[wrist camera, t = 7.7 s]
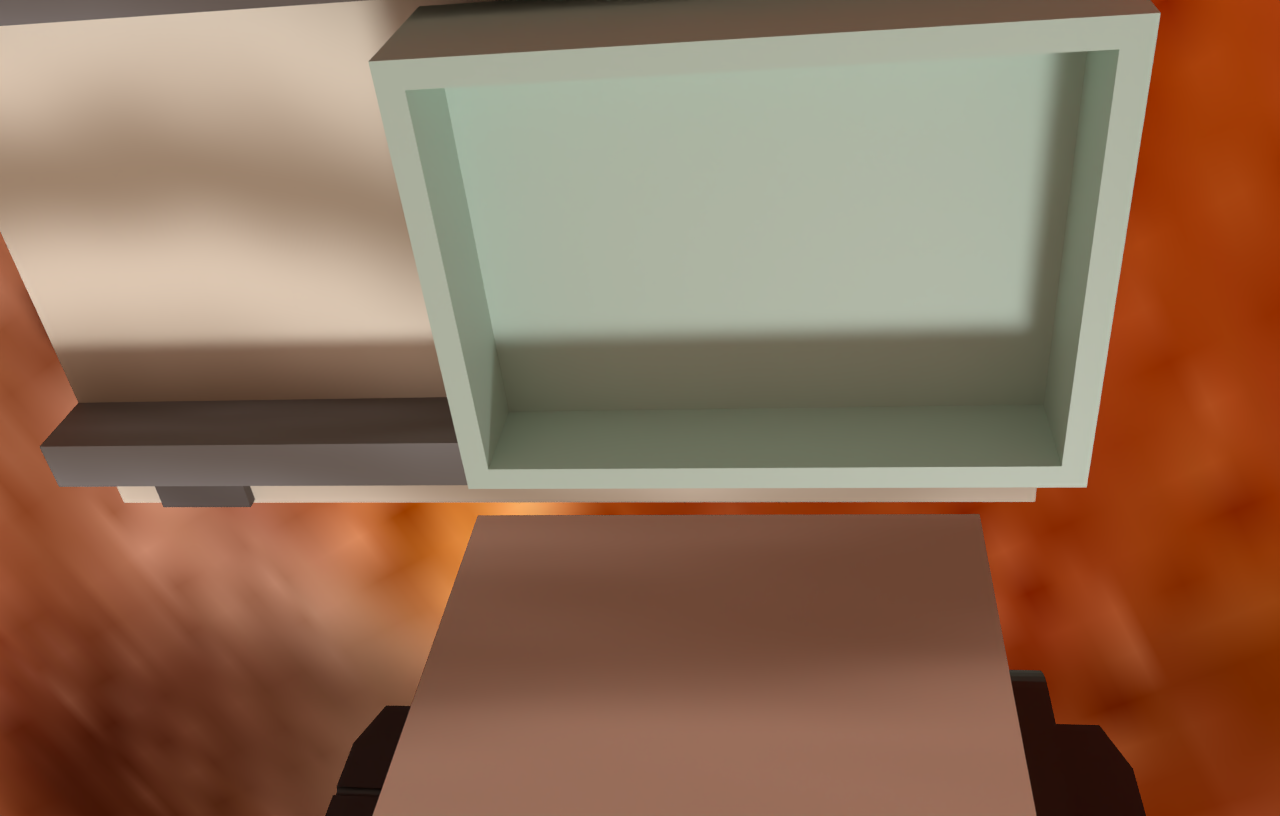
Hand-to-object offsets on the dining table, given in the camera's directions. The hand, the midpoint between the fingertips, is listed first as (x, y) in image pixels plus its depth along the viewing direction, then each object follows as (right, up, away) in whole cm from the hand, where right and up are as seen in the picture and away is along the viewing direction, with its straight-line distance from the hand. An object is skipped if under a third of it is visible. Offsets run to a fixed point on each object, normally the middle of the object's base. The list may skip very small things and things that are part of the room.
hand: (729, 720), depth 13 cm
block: (0, 0, 0) cm, 0 cm away
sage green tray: (+1, +8, +11) cm, 13 cm away
